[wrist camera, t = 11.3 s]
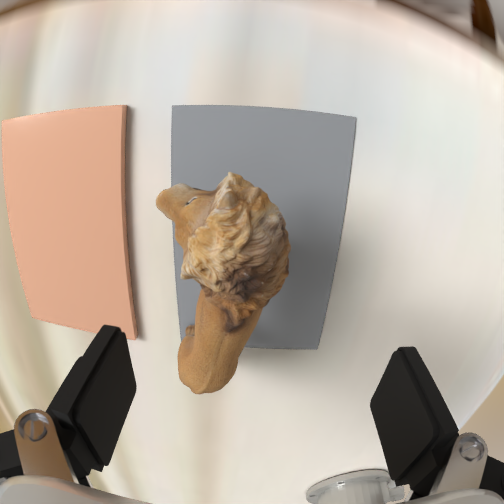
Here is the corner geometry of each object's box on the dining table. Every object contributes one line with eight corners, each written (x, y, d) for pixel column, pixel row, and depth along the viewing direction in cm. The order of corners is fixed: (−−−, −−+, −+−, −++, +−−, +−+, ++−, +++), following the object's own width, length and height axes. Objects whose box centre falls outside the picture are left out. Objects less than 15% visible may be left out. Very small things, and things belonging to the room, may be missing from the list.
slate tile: (350, 116, 16) (356, 117, 15) (315, 338, 23) (317, 349, 22) (177, 106, 16) (172, 105, 15) (184, 332, 23) (181, 342, 22)
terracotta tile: (130, 105, 16) (122, 104, 15) (139, 330, 22) (135, 340, 21) (12, 119, 15) (1, 120, 14) (39, 310, 22) (32, 317, 21)
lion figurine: (193, 148, 16) (131, 183, 8) (290, 160, 16) (325, 206, 8) (184, 353, 22) (158, 454, 14) (254, 362, 23) (253, 467, 14)
